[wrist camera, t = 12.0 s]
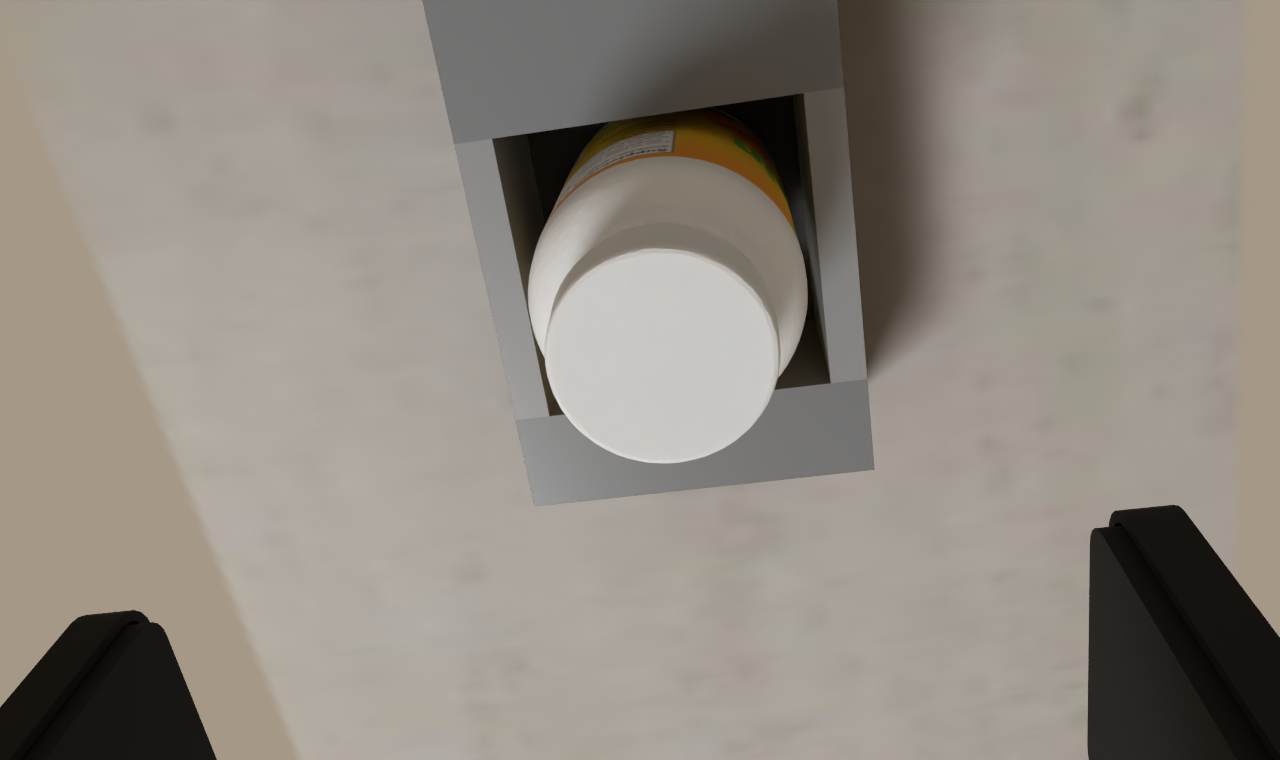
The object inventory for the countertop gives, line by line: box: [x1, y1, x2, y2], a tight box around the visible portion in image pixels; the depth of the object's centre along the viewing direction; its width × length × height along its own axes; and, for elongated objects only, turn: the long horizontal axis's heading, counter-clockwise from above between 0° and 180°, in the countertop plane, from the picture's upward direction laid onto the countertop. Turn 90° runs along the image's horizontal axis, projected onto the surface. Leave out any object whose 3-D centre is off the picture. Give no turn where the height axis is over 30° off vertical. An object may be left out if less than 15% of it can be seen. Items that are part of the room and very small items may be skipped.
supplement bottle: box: [528, 107, 808, 463], centre depth 23 cm, size 5×5×10 cm
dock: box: [422, 0, 874, 507], centre depth 25 cm, size 14×8×4 cm, turn 9°
